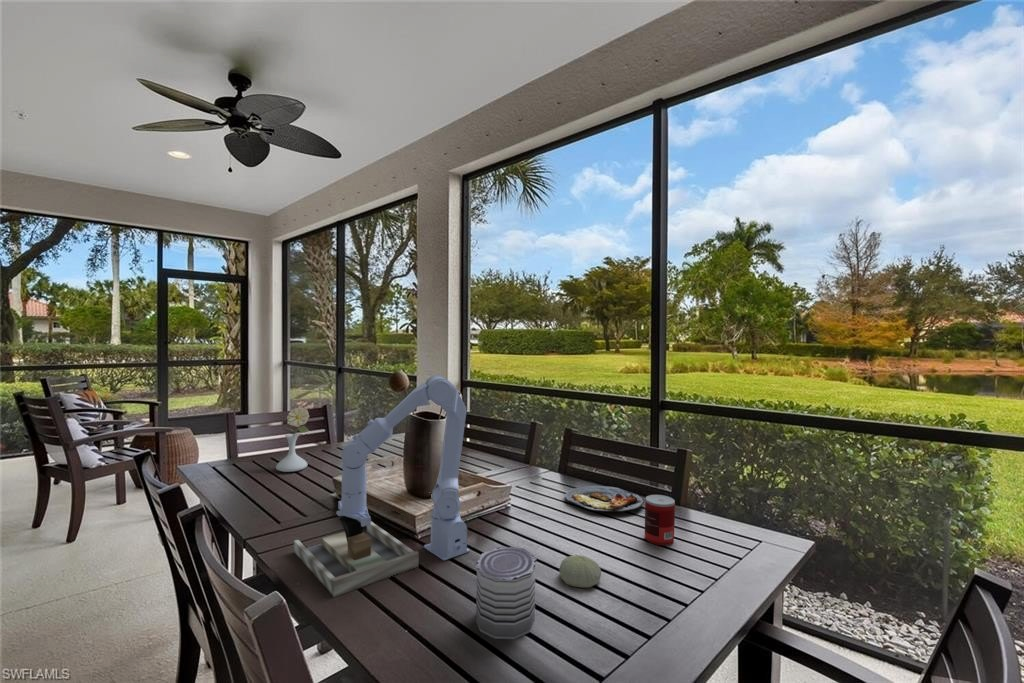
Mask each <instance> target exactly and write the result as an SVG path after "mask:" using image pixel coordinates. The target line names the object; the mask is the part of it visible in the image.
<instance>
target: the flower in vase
mask: <svg viewBox="0 0 1024 683" xmlns="http://www.w3.org/2000/svg"><path fill="white" fill-rule="evenodd" d="M309 414H310V413H309V410H308V409H306V408H304V407H300V406H299V407H297V408H296V407H294V409H291V410H290V412H288V415H286V420H287V423H288V425H289V426H292V427H293V426H294V427H295V428H297V429H296V430H295V431H294V430H293V429H291V428H288V427H286V426H285V428H286V429H287V430H290V431H292V432H294V433H289V434H285V435H284V436H285V438H286V440H287V442H288V452H287V455H286V456H285V457H283V458H282V459H281V460H280V461H279V462H278V463H277V464H276V466H275V469H276V470H277V471H279V472H284V473H287V472H288V473H291V472H298V471H301V470H304V469H305V468H306V467H307V466H308V462H307V461H306V460H305V459H304V458H303V457H301V456H299V455H298V454H297V453H296V444H297V443H296V442H297V439H298V438H299V436H300V434H298V433H297V431H298V432H300V433H301V434H302V433H303V434H304V433H307V432H309V431H310V430H309V429H308V428H307V427H306V426H305V425H306V423H307V421H309V418H310V415H309Z"/></svg>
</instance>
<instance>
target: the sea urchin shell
mask: <svg viewBox="0 0 1024 683" xmlns="http://www.w3.org/2000/svg"><path fill="white" fill-rule="evenodd" d="M558 570H559V575H560V578H561V580H563V582H564V583H565V584H566V585H568V586H572V587H576V588H577V587H578V588H581V589H582V588H586V589H587V588H591V587H593V586H596V585H597V584H598V583H599V581H600V580H601V576H602V571H601V570H602V569H601V567H600V565H599V564H598V563H597V562H596V561H595V560H593V559H592V558H590V557H588V556H585V555H581V554H579V555H578V554H574V555H573V554H572V555H570V556H566V557H565V558H564V559H563V560H561V563H560V565H559V569H558Z"/></svg>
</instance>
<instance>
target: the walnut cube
mask: <svg viewBox="0 0 1024 683" xmlns="http://www.w3.org/2000/svg"><path fill="white" fill-rule="evenodd" d="M348 555H349V556H350V557H351V558H352V559H353V560H357V559H361V558H364V557H367V556H370V555H371V538H370V537H368V536H367V535H366V534H365V533H362V534H358V535H355V536H351V537H348Z"/></svg>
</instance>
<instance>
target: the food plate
mask: <svg viewBox="0 0 1024 683" xmlns="http://www.w3.org/2000/svg"><path fill="white" fill-rule="evenodd" d="M564 496H565V498H566V501H567V500H568V501H569V502H571V503H574V504H575V505H578V506H580V507H583V509H588V510H591V511H595V512H606V513H622V512H627V511H632V510H637V509H640V508H641V507H642V506H643V504H645V500H644V499H643V498H642V496H639V494H637V493H634V492H632V491H628V490H625V489H622V488H620V487H614V486H608V485H607V486H603V485H601V486H600V485H583V486H577V487H575V488H570V490H568V491H567V492H566V493H565V495H564Z"/></svg>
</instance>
